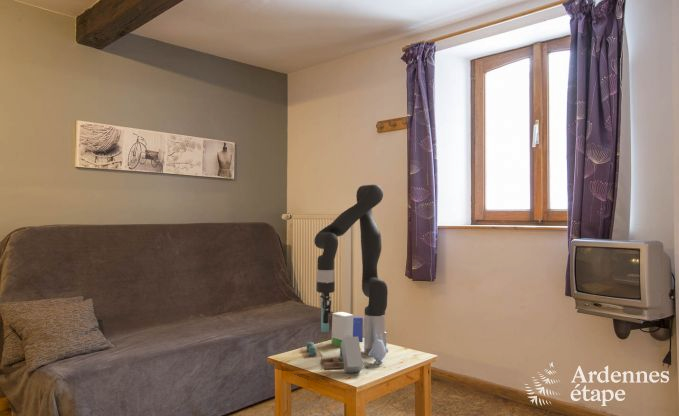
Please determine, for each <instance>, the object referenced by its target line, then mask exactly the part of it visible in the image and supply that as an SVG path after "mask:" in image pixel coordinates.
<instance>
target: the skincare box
mask: <svg viewBox="0 0 679 416" xmlns="http://www.w3.org/2000/svg"><path fill="white" fill-rule="evenodd" d="M353 317H354V314H352V313H349V312H346V311H345V312H344V311H338V312H332V319H331V343H330V344H331V345H334V346H335V347H336V346H337V347H340V343H341V342H342V340H343V338H344V337H353Z"/></svg>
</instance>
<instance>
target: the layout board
mask: <svg viewBox="0 0 679 416" xmlns="http://www.w3.org/2000/svg"><path fill="white" fill-rule="evenodd" d="M314 344H315V343H314V342H313V341H307V342H306V348H304V349H303V348H301V349H299V350H300V352H301V354H302V356H303V358H304V359H311V358H312V359H314V358H315V359H316V358H324V356H323V354H322V353H321V351H320V350H319V347H317V346H315V345H314Z"/></svg>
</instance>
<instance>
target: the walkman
mask: <svg viewBox="0 0 679 416" xmlns="http://www.w3.org/2000/svg"><path fill="white" fill-rule="evenodd" d="M363 319H364V317H363V316H360V315H358V316H353V337H358V338H359V343H364V342H363V341H364V339H363V338H364V337H363V336H364V332H363V330H364V324H363V323H364V322H363V321H364V320H363Z"/></svg>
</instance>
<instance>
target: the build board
mask: <svg viewBox="0 0 679 416" xmlns="http://www.w3.org/2000/svg"><path fill="white" fill-rule="evenodd" d="M320 362H321V364H322V366H323V367H324V368H323V370H324V371H337V370H345V369H344V362H343V355H342V347H341V343H340V346H339V356H333V357H331V356H330V357H320Z"/></svg>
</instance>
